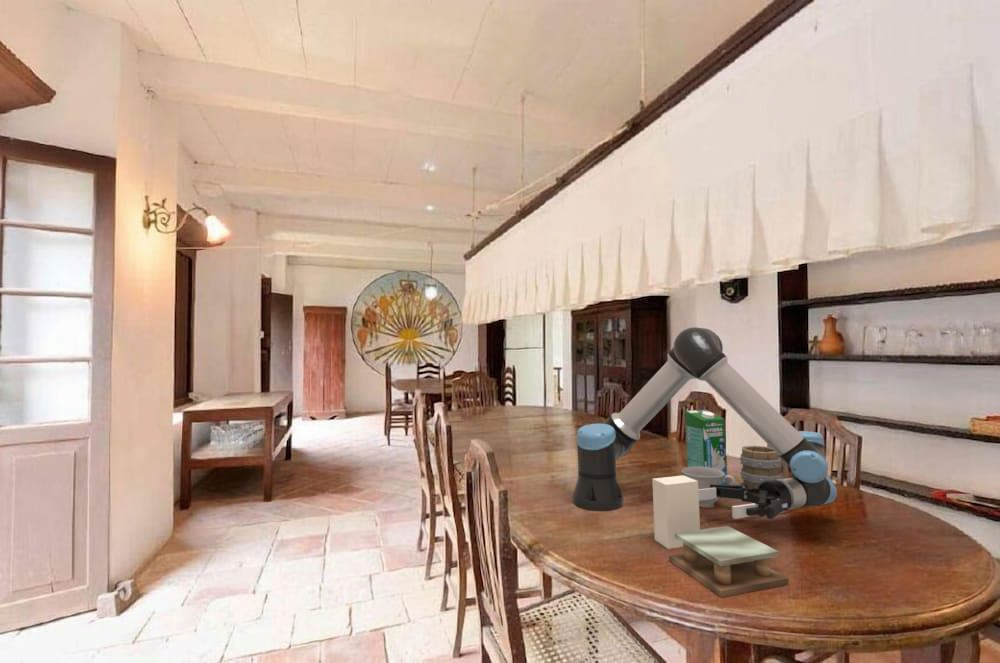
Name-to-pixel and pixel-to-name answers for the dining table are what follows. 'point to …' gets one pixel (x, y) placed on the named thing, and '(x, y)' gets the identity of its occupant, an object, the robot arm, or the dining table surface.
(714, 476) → the teacup
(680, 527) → the cream rectangular block
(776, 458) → the tankard
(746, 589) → the peg shelf
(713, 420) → the milk carton
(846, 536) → the dining table surface
